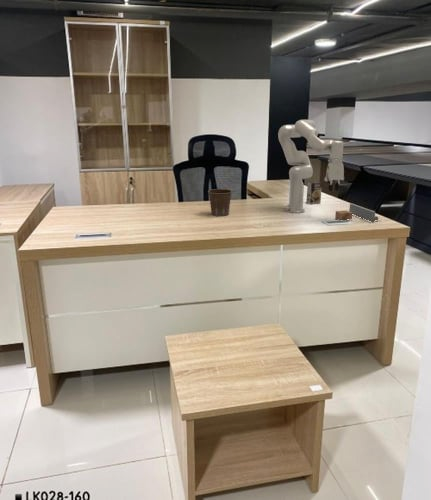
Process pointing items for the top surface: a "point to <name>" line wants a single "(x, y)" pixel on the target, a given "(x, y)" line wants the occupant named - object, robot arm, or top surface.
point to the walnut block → (343, 215)
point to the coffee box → (314, 193)
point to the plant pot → (220, 201)
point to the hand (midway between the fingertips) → (333, 190)
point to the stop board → (363, 212)
